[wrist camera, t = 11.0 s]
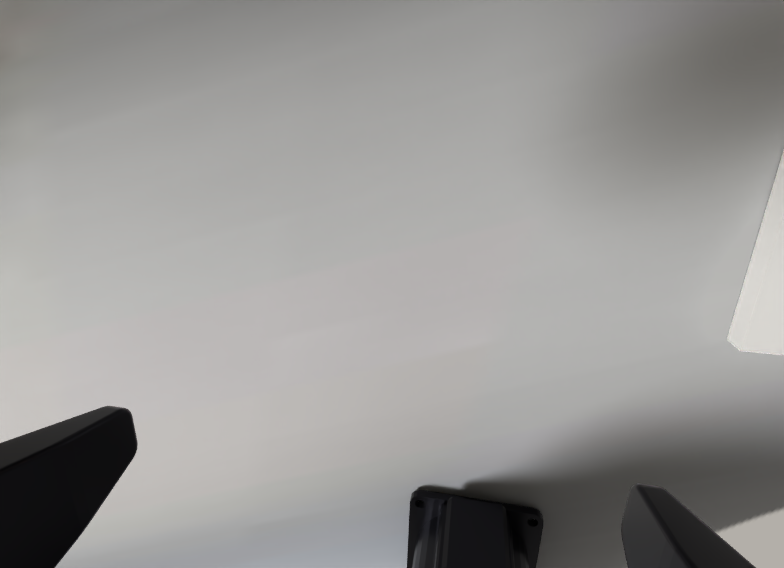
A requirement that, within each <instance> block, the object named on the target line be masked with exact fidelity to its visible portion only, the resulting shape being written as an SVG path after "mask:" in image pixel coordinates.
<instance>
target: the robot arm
mask: <svg viewBox="0 0 784 568" xmlns="http://www.w3.org/2000/svg"><path fill="white" fill-rule="evenodd" d="M136 451H137V438H136V433H135V428H134V423H133V418H132V414H131V412H130V411H129V410H128V409H126V408H121V407H114V406H105V407H102V408H99V409H96V410H93V411H90V412H88V413H85V414H82V415H79V416H76V417H73V418H71V419H68V420H65V421H62V422H59V423H56V424H54V425H51V426H48V427H45V428H42V429H39V430H36V431H34V432H31V433H28V434H25V435H22V436H19V437H17V438H14V439H11V440H8V441H5V442H2V443H0V568H55V567H56V565H57V564H58V563H59V562H60V560H61V559H62V558H63V557H64V555H65V554H66V553H67V552H68V550H69V549H70V548H71V547H72V545H73V544H74V543H75V542H76V540H77V539H78V538H79V536H80V535H81V534H82V532H83V531H84V530H85V528H86V527H87V525H88V524H89V523H90V521H91V520H92V518H93V517H94V515H95V514H96V512H97V511H98V509H99V508H100V506H101V505H102V504H103V502H104V501H105V499H106V498H107V496H108V495H109V493H110V492H111V490H112V489H113V487H114V486H115V484H116V483H117V481H118V480H119V478H120V477H121V475H122V474H123V473H124V471H125V470H126V468H127V467H128V465H129V464H130V462H131V461H132V459H133V458H134V456H135V454H136ZM418 500H422V501H423V502H420V501H418ZM531 518H534V519H535V520H530V519H531ZM542 529H543V517H542V514H541V512H540V511H539V510H537V509H535V508H530V507H524V506H517V505H511V504H505V503H499V502H492V501H486V500H480V499H474V498H467V497H461V496H455V495H449V494H442V493H436V492H430V491H424V490H417V491H414V492H413V493H412V496H411V500H410V516H409V537H408V558H407V568H536V563H537V557H538V552H539V546H540V541H541V535H542ZM621 532H622V540H623V545H624V550H625V555H626V560H627V565H628V568H756V567H754V566H753V565H752V564H751V563H749V561H747V560H746V559H745V558H744V557H743V556H742V555H740V554H739V553H738V552H737V551H736V550H735V549H733V548H732V547H731V546H730V545H729V544H728V543H727V542H725V541H724V540H723V539H722V538H721V537H720V536H719V535H717V534H716V533H715V532H714V531H713V530H712V529H710V528H709V527H708V526H707V525H706V524H705V523H704V522H702V521H701V520H700V519H699V518H698V517H697V516H695V515H694V514H693V513H692V512H691V511H690V510H689V509H687V508H686V507H685V506H684V505H683V504H682V503H680V502H679V501H678V500H677V499H676V498H675V497H674V496H672V495H671V494H670V493H669V492H668V491H666V490H665V489H664V488H662V487H659V486H653V485H647V484H640V483H637V484H634V485H633V486H632V487H631V489H630V492H629V496H628V500H627V504H626V508H625V512H624V516H623V520H622V527H621Z"/></svg>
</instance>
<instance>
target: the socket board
mask: <svg viewBox="0 0 784 568" xmlns="http://www.w3.org/2000/svg"><path fill="white" fill-rule="evenodd" d="M727 340H728V341H729V342H730V343H731V344H732V345H734V346H735V347H736V348H737V349H738V350H740V351H744V352H754V353H764V354H775V355H784V151H783V154H782V157H781V161H780V164H779V167H778V171H777V174H776V177H775V181H774V184H773V187H772V191H771V194H770V197H769V201H768V204H767V207H766V211H765V214H764V217H763V221H762V224H761V227H760V230H759V234H758V237H757V240H756V244H755V247H754V250H753V254H752V257H751V260H750V264H749V267H748V270H747V274H746V277H745V280H744V284H743V287H742V290H741V293H740V297H739V300H738V303H737V307H736V310H735V313H734V317H733V320H732V323H731V327H730V330H729V333H728V337H727Z"/></svg>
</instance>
